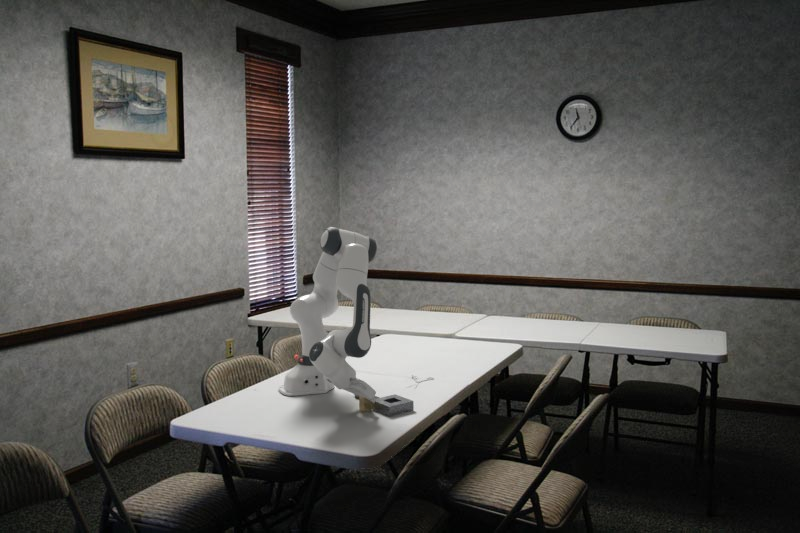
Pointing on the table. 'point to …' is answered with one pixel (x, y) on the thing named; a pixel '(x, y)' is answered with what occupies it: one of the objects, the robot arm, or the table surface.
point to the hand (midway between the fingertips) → (366, 398)
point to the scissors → (420, 381)
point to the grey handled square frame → (392, 405)
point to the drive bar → (364, 404)
